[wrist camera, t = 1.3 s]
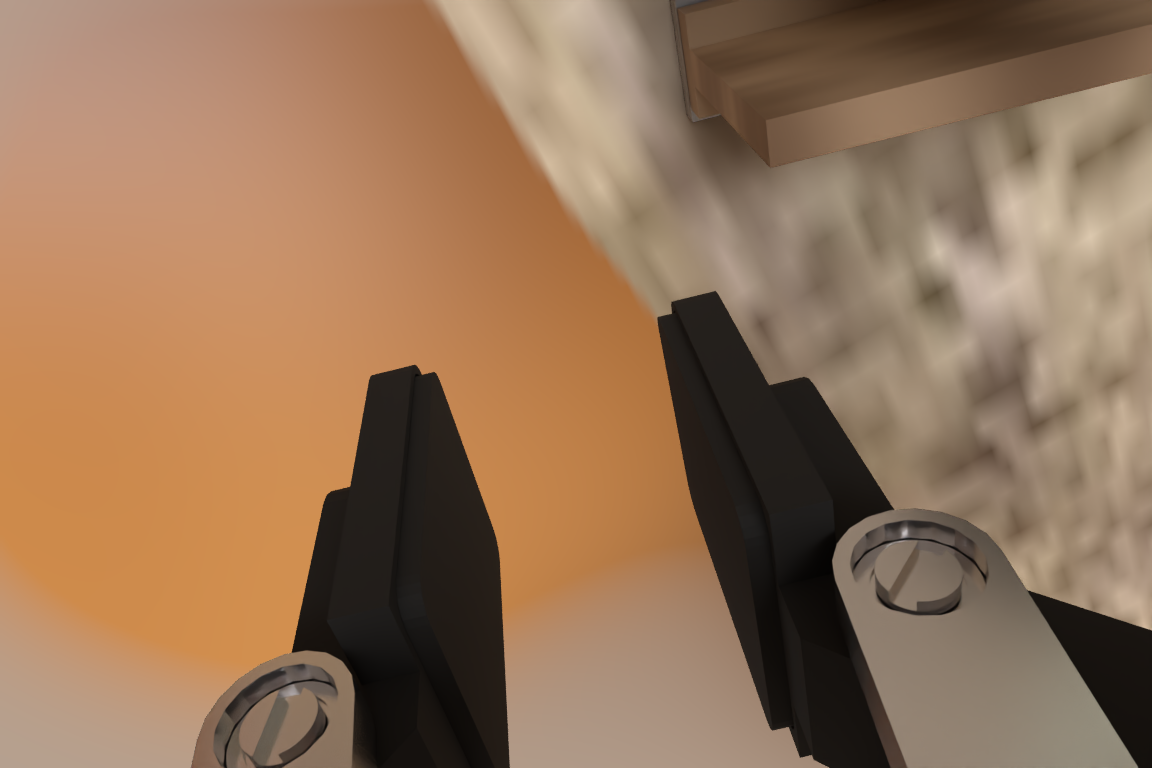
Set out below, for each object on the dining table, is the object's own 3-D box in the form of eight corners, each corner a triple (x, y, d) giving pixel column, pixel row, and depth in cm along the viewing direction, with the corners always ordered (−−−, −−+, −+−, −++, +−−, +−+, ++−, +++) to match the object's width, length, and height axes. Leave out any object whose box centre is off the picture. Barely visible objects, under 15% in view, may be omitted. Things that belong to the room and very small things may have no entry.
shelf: (1111, -102, 23) (1373, -79, 17) (1100, 7, 25) (1335, 69, 18) (677, 8, 24) (761, 74, 17) (691, 109, 25) (774, 208, 18)
